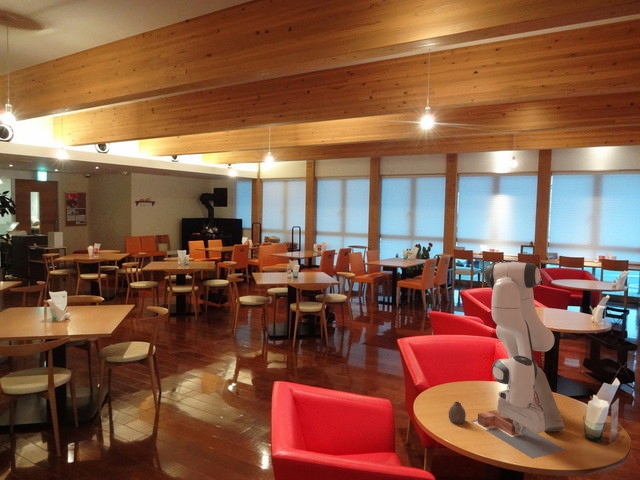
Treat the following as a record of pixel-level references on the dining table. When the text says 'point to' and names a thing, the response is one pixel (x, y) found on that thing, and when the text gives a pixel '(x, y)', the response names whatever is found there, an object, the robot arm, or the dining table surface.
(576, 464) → the dining table surface
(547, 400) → the thermos bottle
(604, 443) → the dining table surface
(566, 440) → the dining table surface
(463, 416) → the vase
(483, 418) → the t block
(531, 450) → the board
